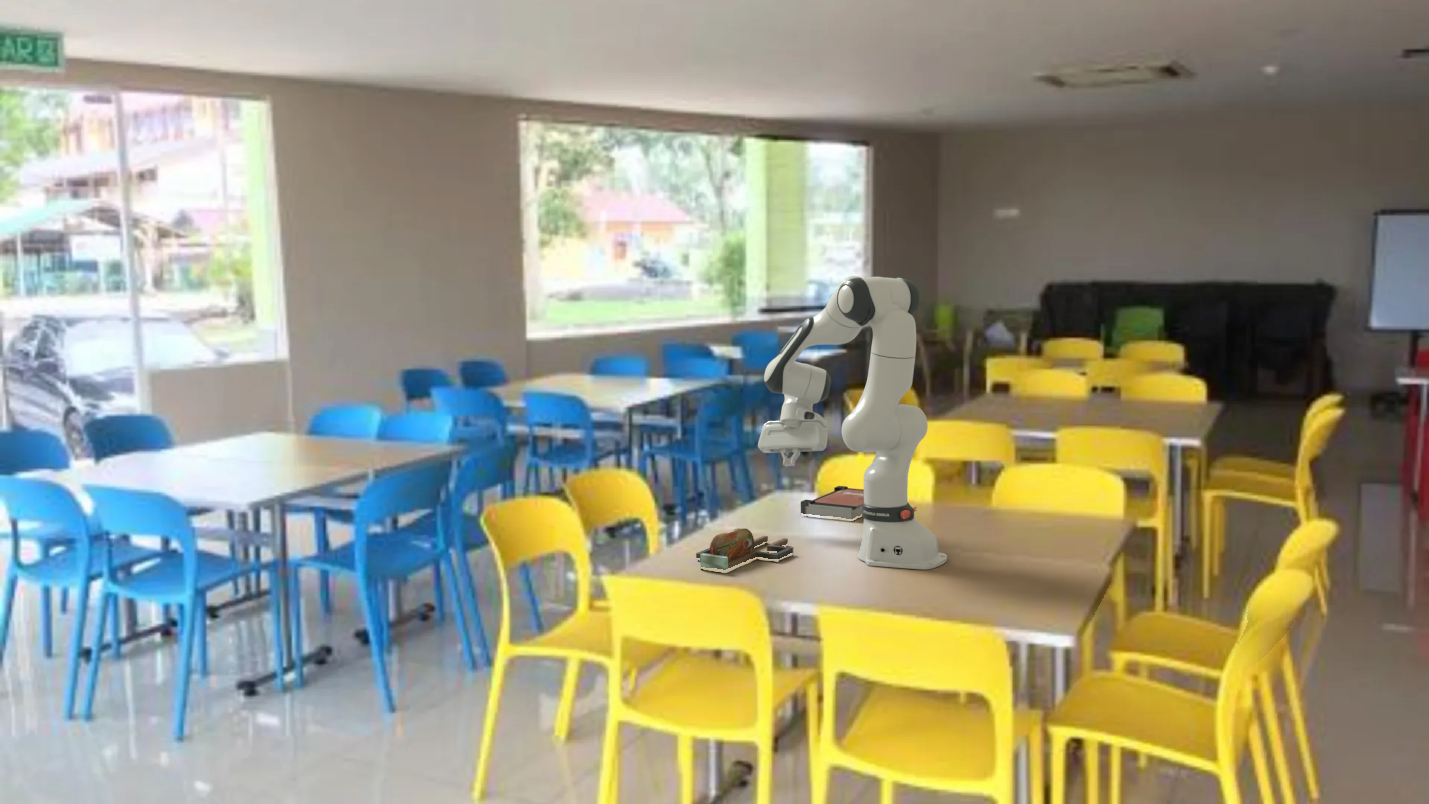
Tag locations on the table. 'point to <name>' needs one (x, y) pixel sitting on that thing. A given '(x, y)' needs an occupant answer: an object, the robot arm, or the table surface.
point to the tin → (732, 544)
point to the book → (836, 503)
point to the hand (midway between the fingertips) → (788, 465)
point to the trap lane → (723, 563)
